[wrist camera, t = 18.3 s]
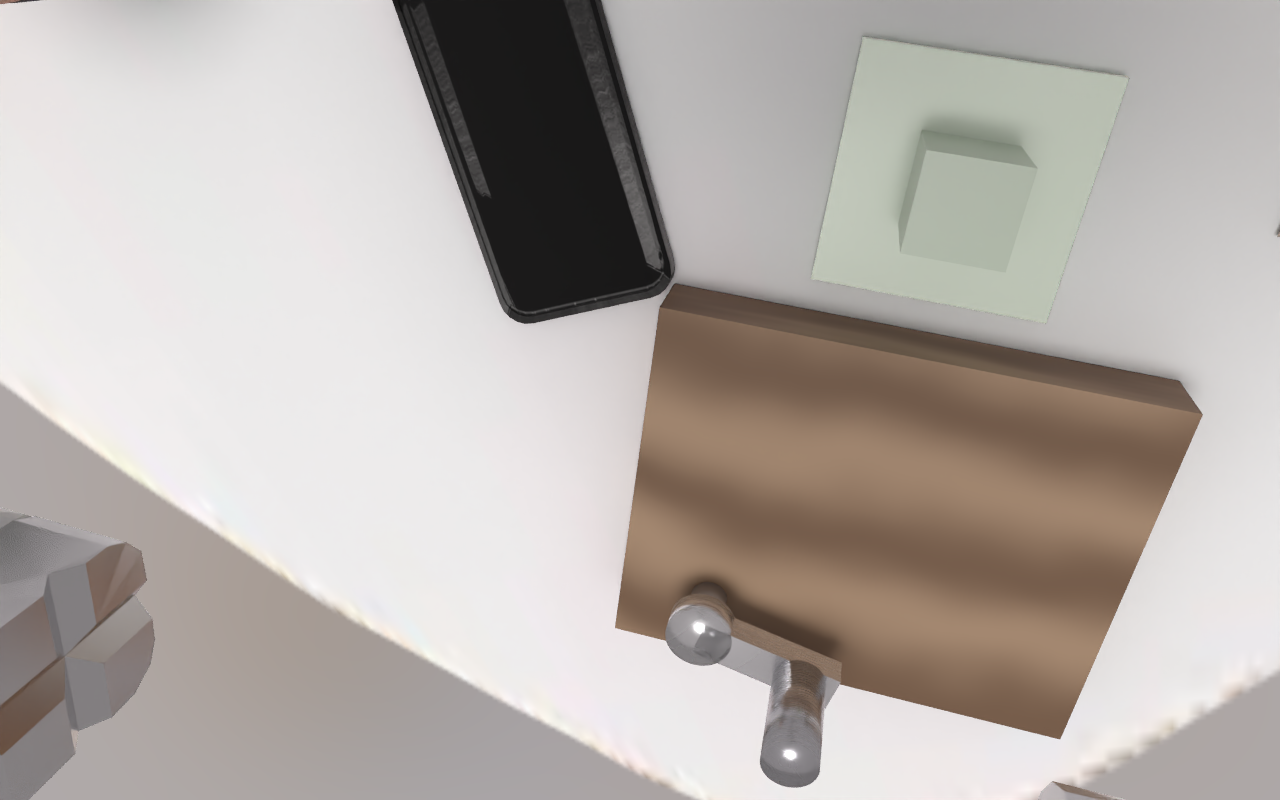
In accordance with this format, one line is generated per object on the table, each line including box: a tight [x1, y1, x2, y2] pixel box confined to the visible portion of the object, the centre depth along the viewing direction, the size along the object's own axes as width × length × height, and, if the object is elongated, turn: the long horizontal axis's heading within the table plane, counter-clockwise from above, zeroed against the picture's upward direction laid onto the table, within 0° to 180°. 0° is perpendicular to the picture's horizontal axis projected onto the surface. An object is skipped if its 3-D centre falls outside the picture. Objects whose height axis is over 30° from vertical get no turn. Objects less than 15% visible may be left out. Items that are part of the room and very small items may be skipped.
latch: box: [665, 594, 842, 787], centre depth 38 cm, size 7×3×6 cm, turn 71°
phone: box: [392, 0, 675, 324], centre depth 38 cm, size 8×1×15 cm
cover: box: [811, 36, 1129, 324], centre depth 33 cm, size 9×9×5 cm
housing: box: [615, 284, 1203, 739], centre depth 40 cm, size 16×20×4 cm
